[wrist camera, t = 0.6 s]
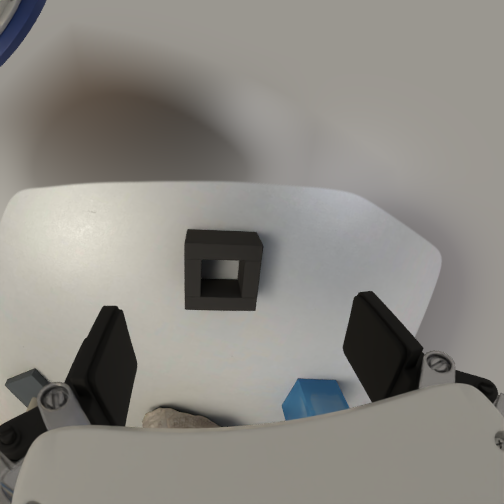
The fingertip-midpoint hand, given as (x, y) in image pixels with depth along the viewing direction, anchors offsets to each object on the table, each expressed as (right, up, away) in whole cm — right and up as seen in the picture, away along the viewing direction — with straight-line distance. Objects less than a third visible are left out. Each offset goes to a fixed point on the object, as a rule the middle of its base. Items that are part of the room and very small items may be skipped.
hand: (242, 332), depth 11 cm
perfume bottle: (+9, -17, +27) cm, 33 cm away
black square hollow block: (-3, +2, +17) cm, 17 cm away
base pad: (-34, -20, +21) cm, 44 cm away
